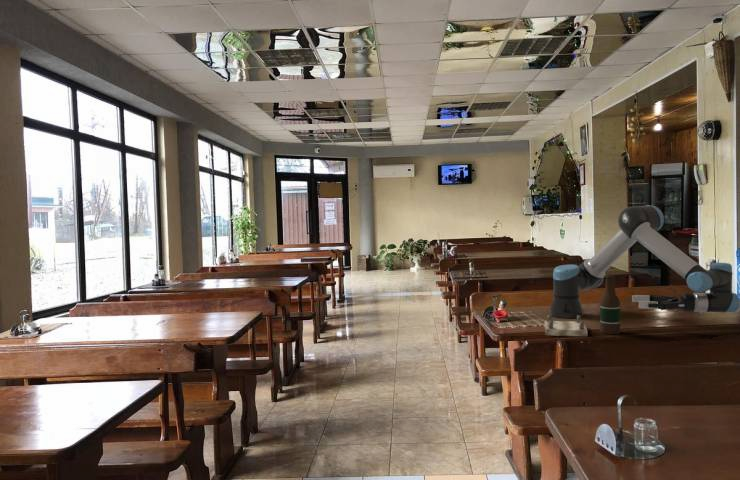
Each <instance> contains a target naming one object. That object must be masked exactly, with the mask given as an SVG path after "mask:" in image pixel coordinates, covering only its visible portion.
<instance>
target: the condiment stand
mask: <svg viewBox="0 0 740 480" xmlns="http://www.w3.org/2000/svg"><path fill="white" fill-rule="evenodd" d="M544 331H545V335H546V336H557V337H559V336H562V337H588V329H587V326H586V324H585V323H584V321H582V317H581V316H580V315H577V318H576V321H573V320H572V321H570V320H567V321H566V320H553V319H552V316H551V315H550V314H547V320H544Z"/></svg>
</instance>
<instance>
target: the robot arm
mask: <svg viewBox="0 0 740 480" xmlns="http://www.w3.org/2000/svg"><path fill="white" fill-rule="evenodd" d="M664 219H665V217H664V214H663V212H662V211H661V209H660V208H659V207H658V206H655V205H650V204H647V205H637V206H634V205H633V206H628V207H626V208H624V209H623V210H622V211H621V212H620V214H619V215H618V219H617V223H618V227H619V230H618V231H617V232H616V233H615V234H614V235H613V236H612V237H611V238H610V239H608V241H607V242H606V243H605V244H604V245H603V246H602V247H601V248H600V249H599V250H598V251H597V252H596V253H595V254H594V255H593V256H592V257H591V258H586V259H584V261H582V263H580V264H579V265H577V264H569V263H568V264H562V265H558V266H555V268H554V269H553V273H552V278H553V279H552V280H553V281H552V282H553V283H552V284H553V285H552V287H553V291H552V293H553V299H552V301H551V305H550V308H549V315H551V317H555V318H559V319H560V318H562V319H574V318H575V319H577V315H580V316H581V318H582V317H584V309H583V306H582V304H581V300H580V292H582V291H586V290H589V291H590V290H593V289H597V288H598V287H599V286H600V285H602V283H603V282H604V278H605V276H606V271H607V270H608V269H609V268H610V267H611V266H612V265H613V264H615V262H617V260H619V259H620V257H622V256H623V255H624V254H625V253H626V252H627V251H629V249H630V248H631V247H632V246H633V245H634V244H635V243H636V242H637V243H639V244H641V245H642V246H643V248H644V247H645V249H647V250H648V251H649V252H651V253H652V254H653V255H654V256H656V258H658V259H659V260H661V261H662V262H663V263H664V264H666V266H668V267H669V268H671V269H672V270H673V271H674V272H675V273H677V274H678V275H679V276H681V277H682V278H683V279H684V280H685V281H686V284H687V287H688V288H689V289H690V290H691V291H693V293H692V292H682V293H681V294H680V297H678V296H676V295H660V294H651V293H650V294H649V295H642V294H641V295H637V294H635V295H632V297H631V299H632V301H631V302H632V303H638V309H645V310H646V309H649V310H650V309H651V310H653V309H654V310H655V309H656V310H661V311H665V310H676V309H678V310H679V309H680V310H682V312H684V313H685V312H687V313H693V312H696V313H698V312H699V313H700V314H703V313H724V314H725V313H735V312H737V311H738V310H739V308H740V299H739V295H738V294H737V293H734V292H733V274H734V273H733V265H732V264H731V263H730V262H729V263H727V262H712V263H710V265H709V269H705V268H704V267H702V266H701V264H699V263H698V262H696V260H694V259H692V258H691V257H690V256H688V255H687V254H686V253H684V252H683V251H682V250H681V249H680V248H678V247H677V246H675V244H674V243H672V242H670V240H668V239H667V238H665V237H664V235H661V233H660V232H658V231H659V230H661V229H662V227H663V225H664V223H665V220H664ZM708 291H709V292H708Z"/></svg>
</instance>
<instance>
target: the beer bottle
mask: <svg viewBox="0 0 740 480" xmlns="http://www.w3.org/2000/svg"><path fill="white" fill-rule="evenodd" d="M604 278H605V286H604V287H605V288H604V289H605V290H604V294H603V295H602V297H601V298H600V303H599V329H600V330H599V331H600V332H601V333H602V334H603V335H618V334H620V333H621V301H620V299H619V297H618V295H617V294H616V285H615V282H616V281H615V278H616V275H615V274H605V276H604Z"/></svg>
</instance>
